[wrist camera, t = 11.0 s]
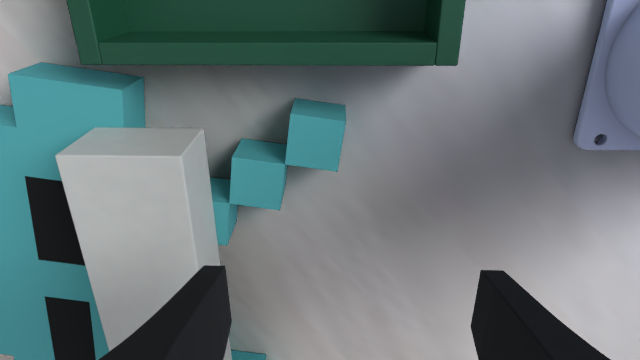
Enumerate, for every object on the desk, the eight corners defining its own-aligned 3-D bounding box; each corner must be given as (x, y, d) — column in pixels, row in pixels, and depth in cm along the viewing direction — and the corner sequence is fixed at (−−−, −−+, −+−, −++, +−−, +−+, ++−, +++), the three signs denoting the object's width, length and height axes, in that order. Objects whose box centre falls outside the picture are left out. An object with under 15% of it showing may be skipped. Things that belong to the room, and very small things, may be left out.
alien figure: (345, 105, 20) (-115, 40, 20) (345, 121, 18) (-167, 49, 18) (295, 410, 29) (-25, 370, 28) (292, 443, 27) (-53, 401, 26)
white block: (204, 127, 19) (181, 156, 16) (235, 388, 25) (223, 439, 22) (94, 127, 19) (53, 155, 16) (154, 386, 25) (132, 437, 23)
